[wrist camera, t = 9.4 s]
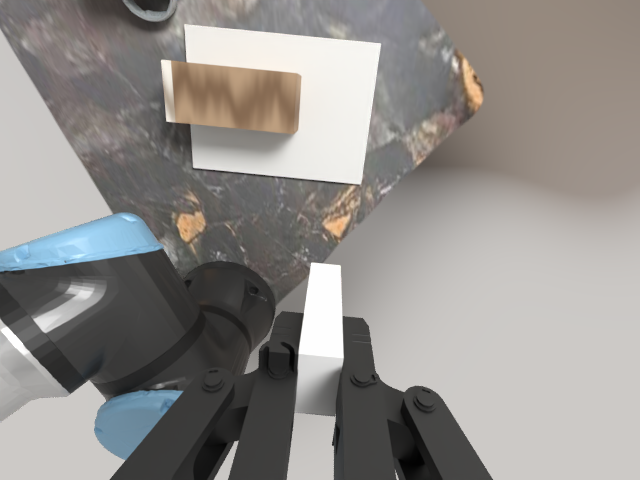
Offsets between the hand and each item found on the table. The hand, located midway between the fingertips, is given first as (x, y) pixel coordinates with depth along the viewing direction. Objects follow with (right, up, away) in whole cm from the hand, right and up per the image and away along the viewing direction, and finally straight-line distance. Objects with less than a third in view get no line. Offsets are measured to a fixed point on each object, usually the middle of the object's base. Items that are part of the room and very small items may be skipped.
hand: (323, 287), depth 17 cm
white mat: (-5, +18, +23) cm, 30 cm away
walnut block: (-3, +18, +20) cm, 27 cm away
